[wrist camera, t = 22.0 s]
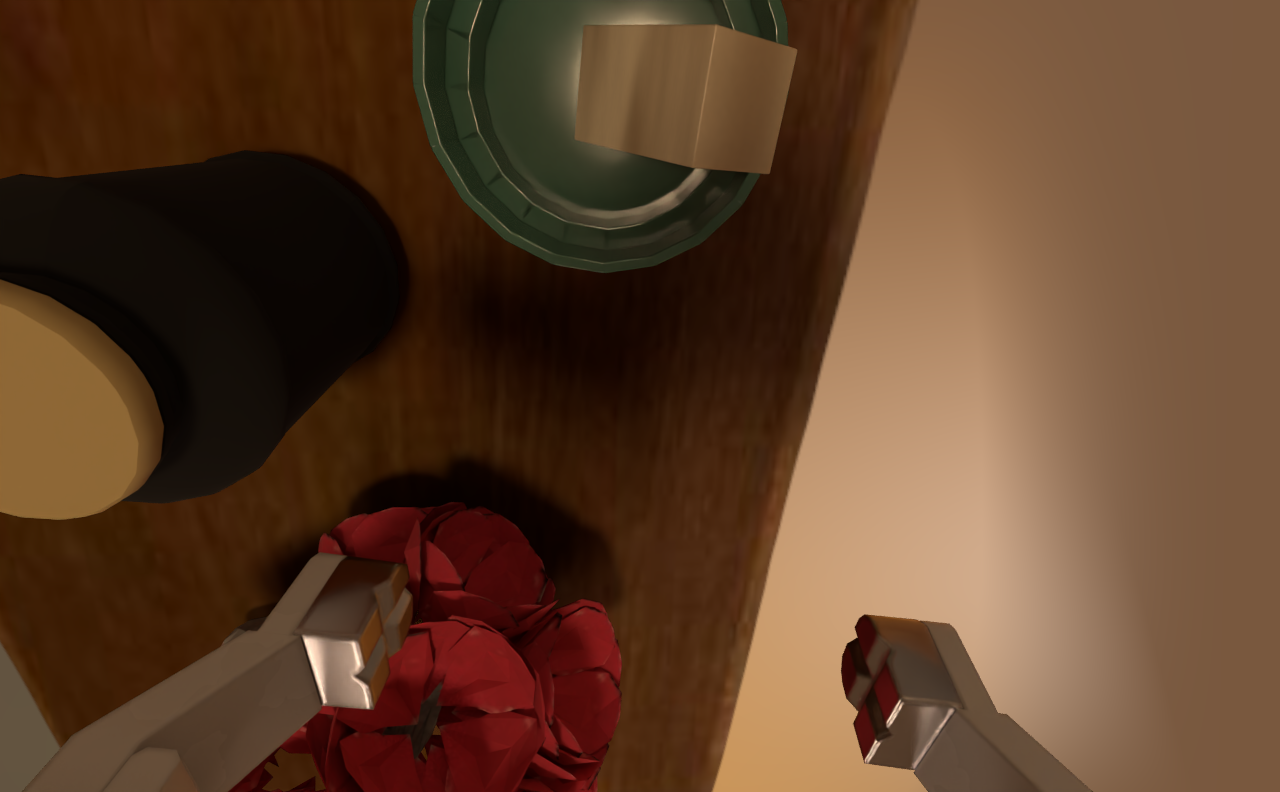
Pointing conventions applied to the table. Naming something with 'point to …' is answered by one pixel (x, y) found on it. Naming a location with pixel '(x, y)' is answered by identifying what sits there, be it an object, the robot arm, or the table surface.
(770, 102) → the plain beige block
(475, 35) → the green pet bowl
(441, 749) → the bouquet
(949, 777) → the robot arm
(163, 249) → the container
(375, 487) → the table surface
